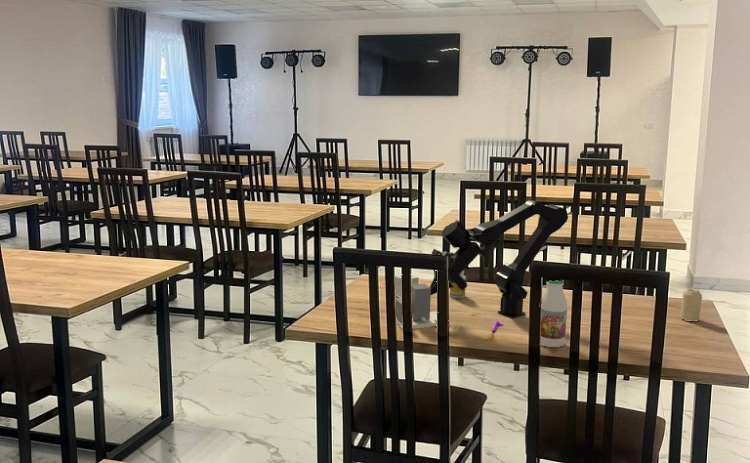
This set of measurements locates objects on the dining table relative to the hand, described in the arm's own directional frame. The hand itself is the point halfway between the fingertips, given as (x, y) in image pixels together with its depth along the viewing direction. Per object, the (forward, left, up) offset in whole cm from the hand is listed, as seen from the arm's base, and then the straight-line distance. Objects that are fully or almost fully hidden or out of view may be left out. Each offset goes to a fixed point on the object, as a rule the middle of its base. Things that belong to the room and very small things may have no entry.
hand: (428, 294), depth 215 cm
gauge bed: (+1, +2, -9) cm, 9 cm away
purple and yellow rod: (-19, -10, -9) cm, 24 cm away
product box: (+23, -12, -9) cm, 27 cm away
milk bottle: (-35, -15, -9) cm, 39 cm away
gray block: (+1, +3, -7) cm, 8 cm away
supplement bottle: (+13, -27, -9) cm, 31 cm away
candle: (-49, -69, -9) cm, 85 cm away
